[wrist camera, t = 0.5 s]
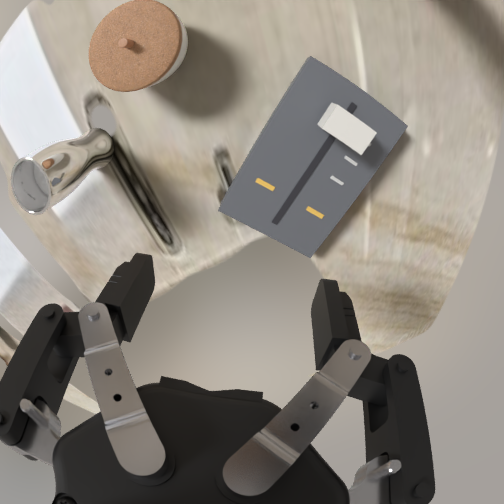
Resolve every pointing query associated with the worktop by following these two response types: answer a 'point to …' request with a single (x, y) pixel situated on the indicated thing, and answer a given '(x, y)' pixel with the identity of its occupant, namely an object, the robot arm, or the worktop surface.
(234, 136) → the worktop surface
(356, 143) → the fader knob
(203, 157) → the worktop surface
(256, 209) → the panel
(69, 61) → the worktop surface
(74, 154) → the beer glass
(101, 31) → the lidded jar
